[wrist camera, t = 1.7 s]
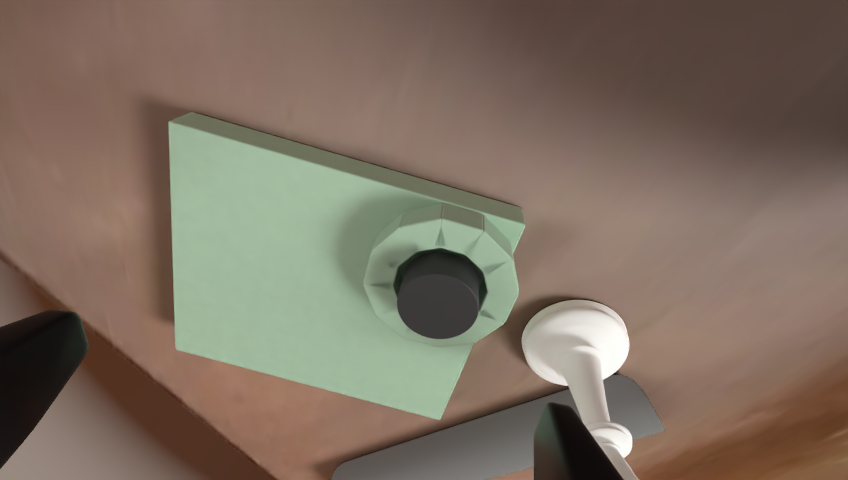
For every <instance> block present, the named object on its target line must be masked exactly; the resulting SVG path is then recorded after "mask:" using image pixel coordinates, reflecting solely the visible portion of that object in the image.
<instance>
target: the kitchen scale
mask: <svg viewBox="0 0 848 480" xmlns="http://www.w3.org/2000/svg"><path fill="white" fill-rule="evenodd" d="M168 129H169V162H170V195H171V227H172V260H173V292H174V325H175V349H176V350H180V351H183V352H187V353H191V354H195V355H198V356H202V357H206V358H210V359H213V360H217V361H221V362H224V363H228V364H232V365H236V366H239V367H243V368H247V369H251V370H254V371H258V372H262V373H265V374H269V375H273V376H277V377H280V378H284V379H288V380H292V381H295V382H299V383H303V384H307V385H310V386H314V387H318V388H321V389H325V390H329V391H333V392H336V393H340V394H344V395H348V396H351V397H355V398H359V399H362V400H366V401H370V402H374V403H377V404H381V405H385V406H389V407H392V408H396V409H400V410H403V411H407V412H411V413H415V414H418V415H422V416H426V417H430V418H433V419H437V420H440V419H441V417H442V415H443V412H444V410H445V408H446V405H447V403H448V401H449V399H450V396H451V394H452V392H453V389H454V387H455V385H456V383H457V380H458V378H459V376H460V374H461V371H462V369H463V367H464V364H465V362H466V360H467V358H468V355H469V353H470V351H471V348H472V346H473V344H474V343H475V342H477V341H479V340H480V339H482V338H483V337H485V336H486V335H488V334H489V333H491V332H492V331H494V330H495V329H497V328H499V327H500V326H502V325H503V324H504V323H505V322H506V320H507V318H508V316H509V314H510V312H511V310H512V307H513V305H514V303H515V301H516V299H517V297H518V295H519V286H518V280H517V273H516V268H515V263H514V258H513V253H514V250H515V248H516V246H517V244H518V241H519V239H520V237H521V235H522V232H523V230H524V228H525V220H524V216H523V211H522V208H520V207H517V206H514V205H510V204H507V203H503V202H500V201H496V200H493V199H489V198H486V197H483V196H479V195H476V194H472V193H469V192H465V191H462V190H459V189H455V188H452V187H448V186H445V185H441V184H438V183H435V182H431V181H428V180H424V179H421V178H417V177H414V176H410V175H407V174H404V173H400V172H397V171H393V170H390V169H386V168H383V167H380V166H376V165H373V164H369V163H366V162H362V161H359V160H355V159H352V158H349V157H345V156H342V155H338V154H335V153H331V152H328V151H325V150H321V149H318V148H314V147H311V146H307V145H304V144H300V143H297V142H294V141H290V140H287V139H283V138H280V137H276V136H273V135H270V134H266V133H263V132H259V131H256V130H252V129H249V128H245V127H242V126H239V125H235V124H232V123H228V122H225V121H221V120H218V119H215V118H211V117H208V116H204V115H201V114H197V113H194V112H190V113H188V114H185V115H183V116H180V117H178V118H176V119H173V120H171V121H169V122H168ZM431 252H447V253H451V254H454V255H457V256H459V257H461V258H462V259H464V260H465V261H466V262H468V263H469V264H470V265H471V266H472V268H473V269H474V271H475V272H476V274H477V277H478V282H479V313H478V317H477V319H476V321H475V323H474V324H473V325H472V327H471V328H470V329H469V330H467V331H466V332H465V333H463V334H461V335H459V336H456V337H453V338H449V339H432V338H427V337H424V336H421V335H419V334H417V333H415V332H414V331H412V330H411V329H410V328H408V327H407V326H406V325H405V323H404V322H403V321H402V319H401V317H400V315H399V313H398V309H397V299H398V294H399V291H400V287H401V283H402V279H403V275H404V272H405V270H406V268H407V267H408V265H409V264H410V263H411V262H412V261H413V260H415V259H416V258H417V257H419V256H421V255H424V254H427V253H431Z"/></svg>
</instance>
